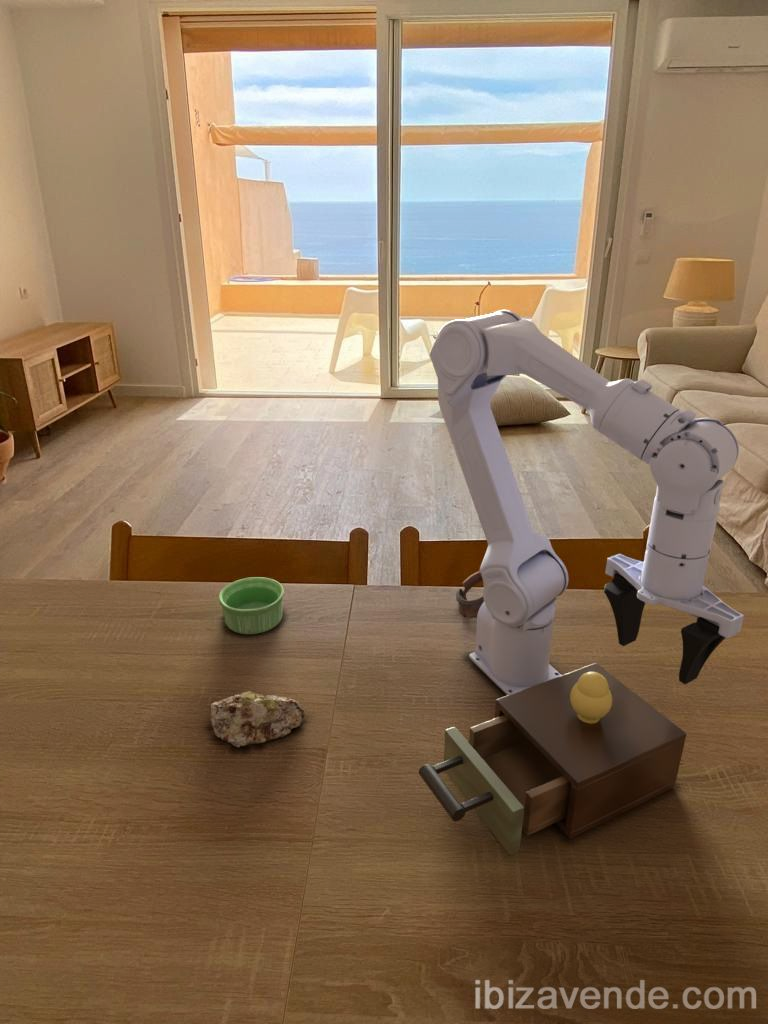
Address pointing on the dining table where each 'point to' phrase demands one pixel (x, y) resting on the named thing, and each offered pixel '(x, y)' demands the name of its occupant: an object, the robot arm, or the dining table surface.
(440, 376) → the robot arm
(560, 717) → the cabinet
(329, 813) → the dining table surface
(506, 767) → the drawer
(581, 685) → the yellow double-bulb knob
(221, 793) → the dining table surface
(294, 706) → the mineral rock
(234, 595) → the ramekin
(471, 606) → the pottery mug
